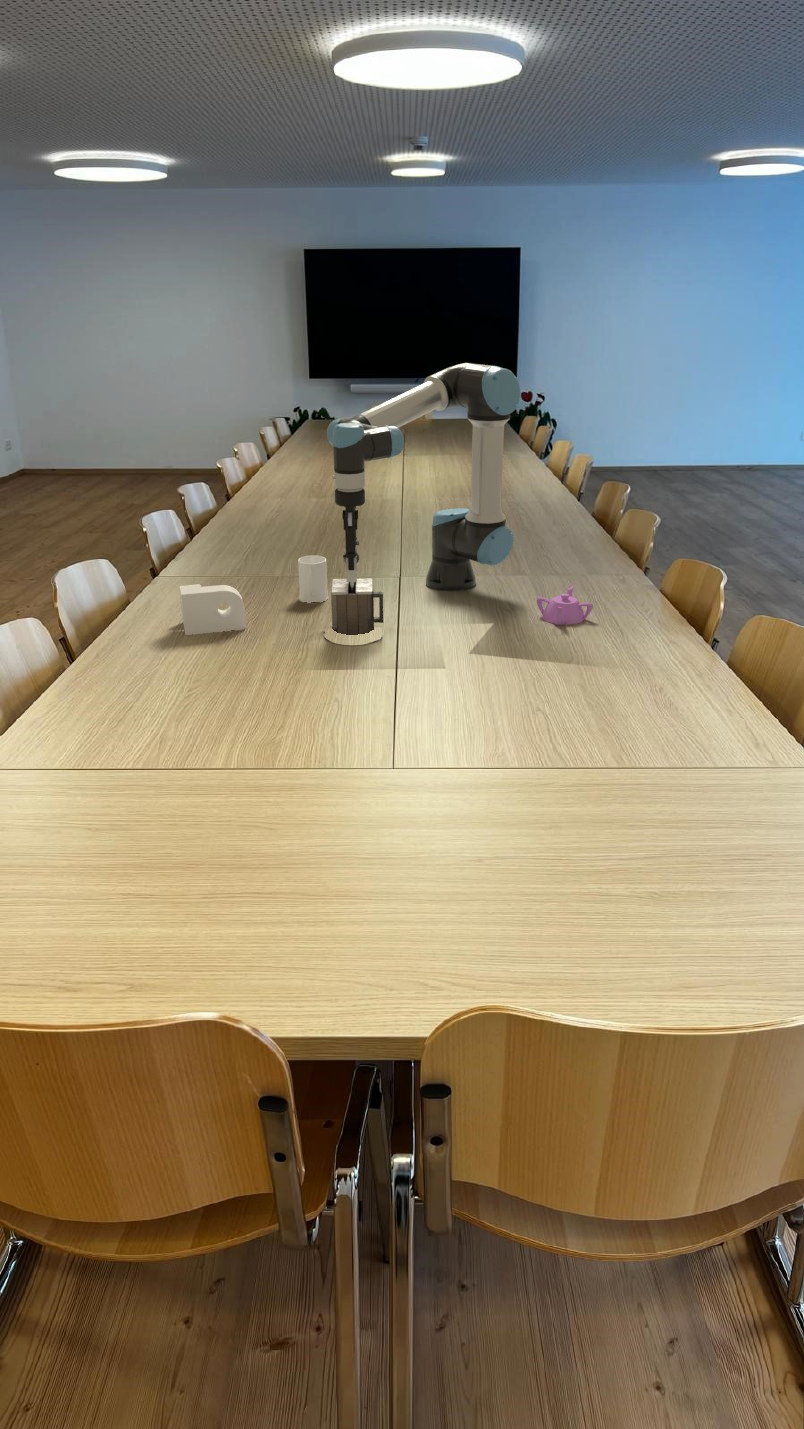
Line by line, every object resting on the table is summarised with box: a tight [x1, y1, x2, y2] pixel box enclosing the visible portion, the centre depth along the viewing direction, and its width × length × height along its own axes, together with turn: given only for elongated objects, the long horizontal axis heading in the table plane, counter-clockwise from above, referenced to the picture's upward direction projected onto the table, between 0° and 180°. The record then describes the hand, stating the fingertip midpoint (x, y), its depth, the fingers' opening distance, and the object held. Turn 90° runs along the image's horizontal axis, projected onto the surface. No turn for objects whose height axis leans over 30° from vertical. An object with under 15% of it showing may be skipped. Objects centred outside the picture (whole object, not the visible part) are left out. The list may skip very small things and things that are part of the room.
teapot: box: [536, 584, 594, 626], centre depth 263 cm, size 12×14×9 cm
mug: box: [297, 554, 330, 604], centre depth 280 cm, size 12×8×12 cm
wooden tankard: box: [330, 577, 384, 635], centre depth 257 cm, size 14×12×13 cm
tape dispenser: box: [179, 583, 247, 636], centre depth 260 cm, size 16×10×13 cm, turn 105°
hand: (351, 575), depth 252 cm, fingers open, 8 cm apart
